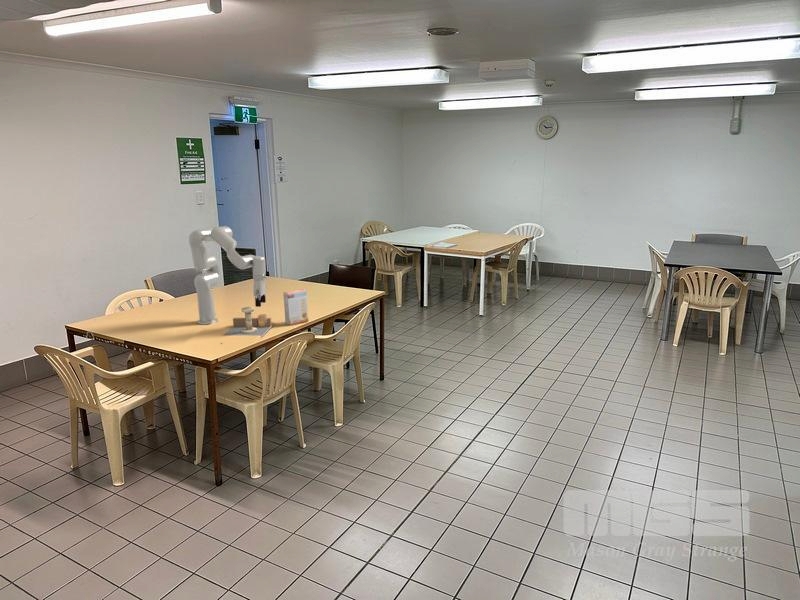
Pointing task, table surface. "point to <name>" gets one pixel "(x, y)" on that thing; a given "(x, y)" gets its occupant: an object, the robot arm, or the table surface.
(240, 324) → the grey board with ledge
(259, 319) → the copper block
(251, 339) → the table surface
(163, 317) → the table surface
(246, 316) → the bobbin
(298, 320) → the cracker box
